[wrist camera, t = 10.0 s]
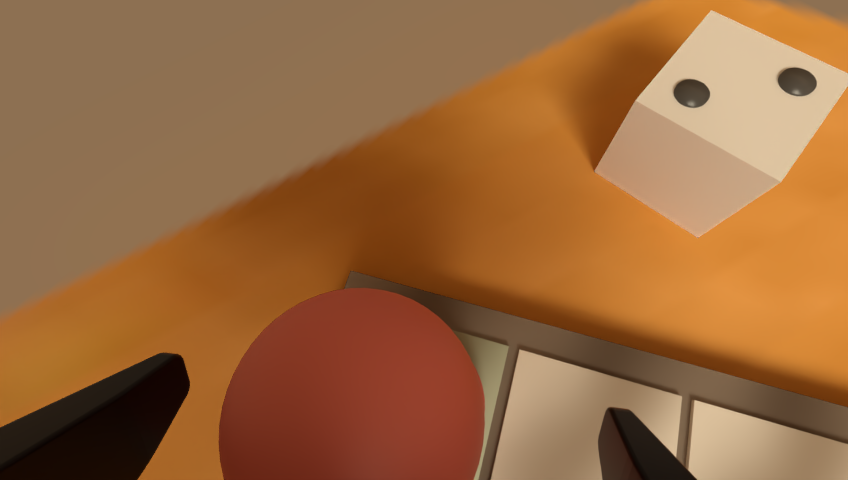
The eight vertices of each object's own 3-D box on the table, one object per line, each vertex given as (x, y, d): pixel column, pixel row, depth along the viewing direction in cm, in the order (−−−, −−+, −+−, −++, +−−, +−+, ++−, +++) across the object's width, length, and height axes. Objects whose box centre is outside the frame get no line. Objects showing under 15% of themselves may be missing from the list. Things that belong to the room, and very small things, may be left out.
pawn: (510, 395, 15) (619, 404, 5) (421, 511, 14) (307, 843, 4) (411, 307, 16) (325, 164, 6) (323, 407, 15) (40, 438, 5)
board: (889, 424, 15) (924, 427, 14) (902, 711, 12) (946, 744, 11) (356, 277, 18) (349, 269, 17) (285, 476, 16) (271, 482, 15)
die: (756, 156, 19) (857, 74, 14) (697, 238, 18) (783, 180, 13) (653, 99, 20) (712, 7, 15) (593, 172, 19) (636, 98, 14)
